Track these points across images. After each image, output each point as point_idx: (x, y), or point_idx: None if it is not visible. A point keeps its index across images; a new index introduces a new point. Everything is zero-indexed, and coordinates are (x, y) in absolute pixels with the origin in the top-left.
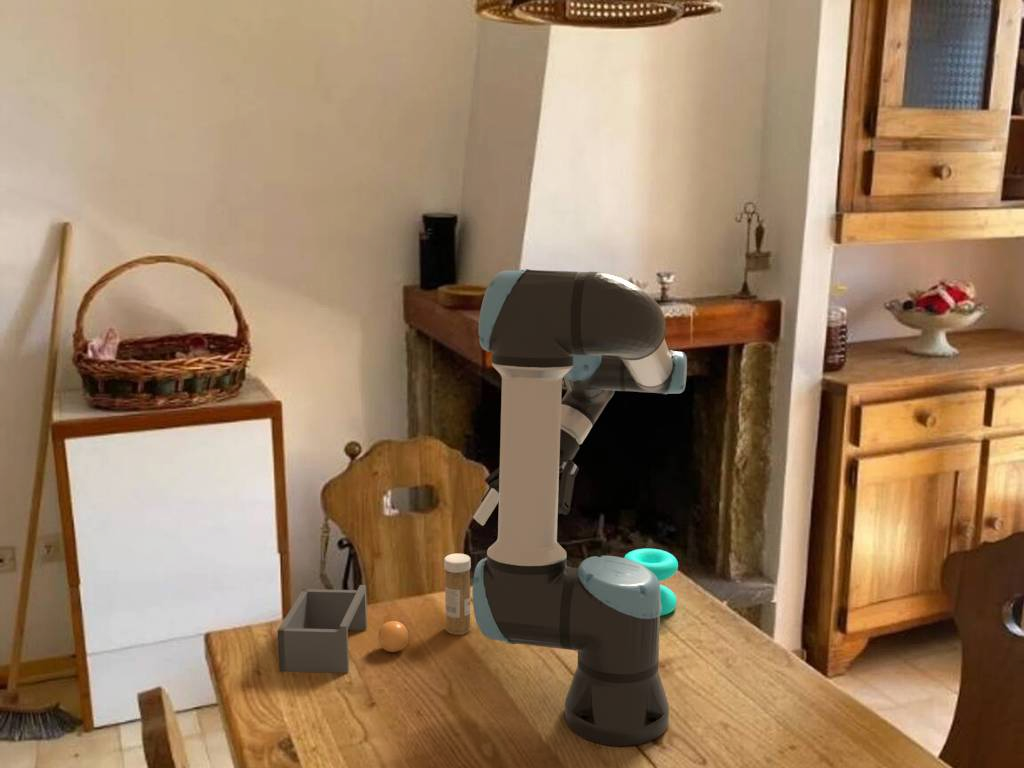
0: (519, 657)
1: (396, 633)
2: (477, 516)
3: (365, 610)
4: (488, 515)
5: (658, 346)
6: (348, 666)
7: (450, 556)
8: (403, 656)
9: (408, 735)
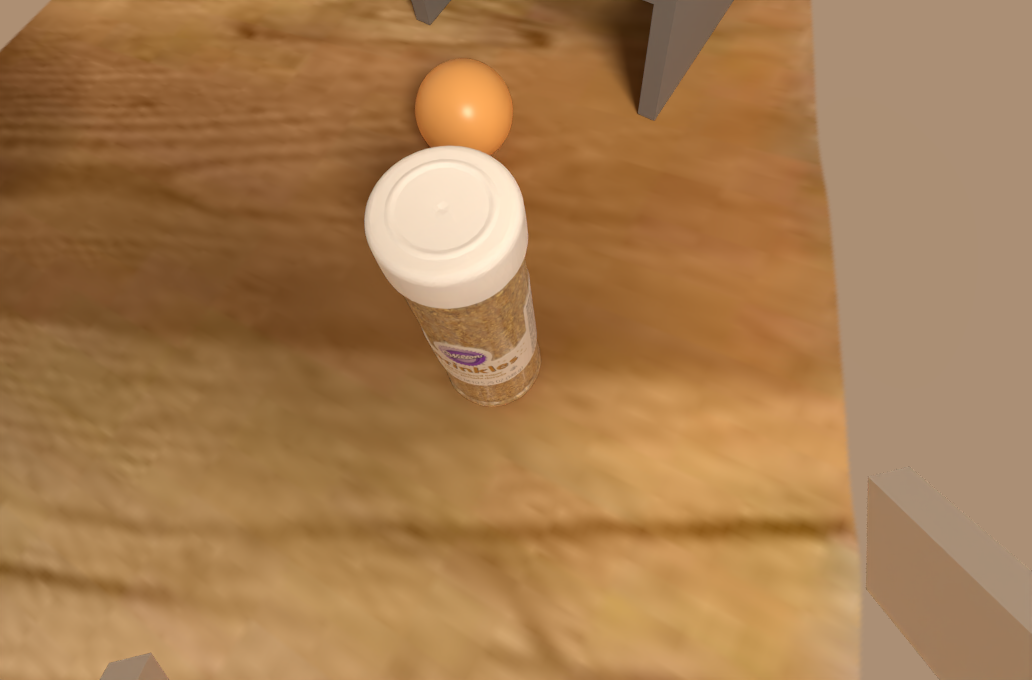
0: (201, 460)
1: (420, 90)
2: (887, 504)
3: (646, 62)
4: (945, 672)
5: None
6: (423, 12)
7: (480, 181)
8: None
9: (84, 59)
